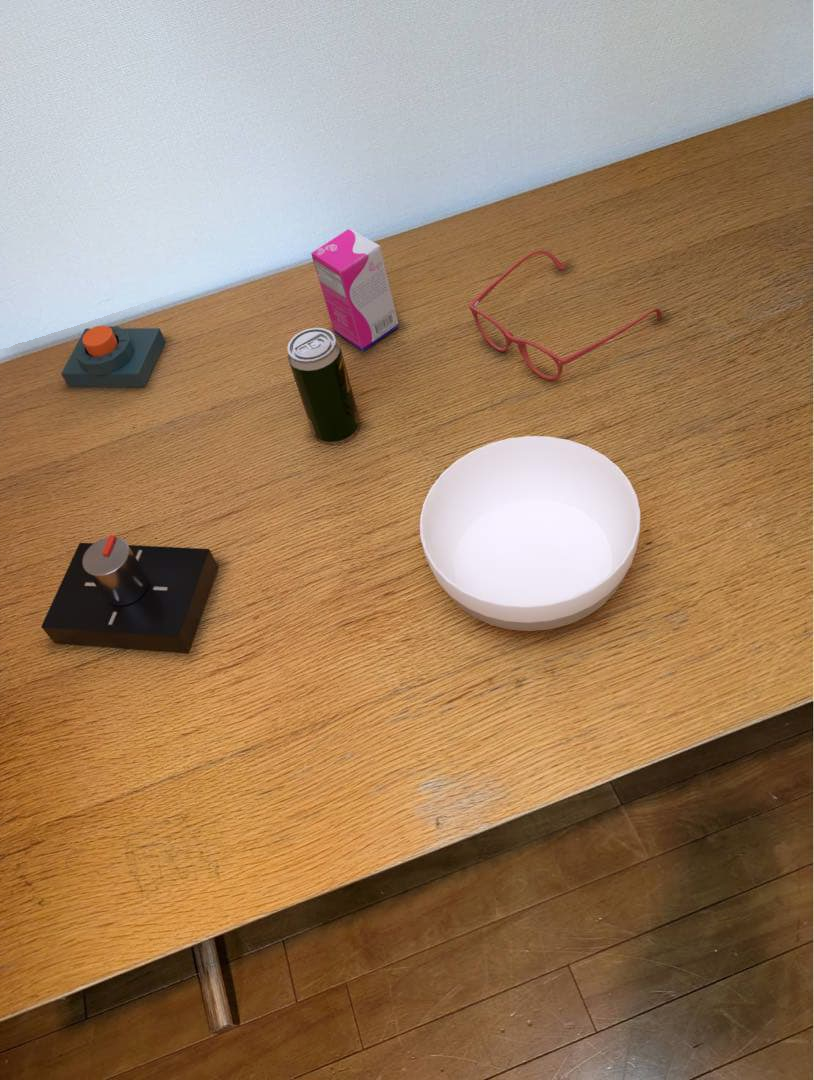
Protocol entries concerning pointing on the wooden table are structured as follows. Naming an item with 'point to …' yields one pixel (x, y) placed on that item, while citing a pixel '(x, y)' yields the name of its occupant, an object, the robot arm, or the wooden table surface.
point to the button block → (116, 360)
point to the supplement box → (356, 289)
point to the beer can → (324, 385)
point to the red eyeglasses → (523, 342)
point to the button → (99, 341)
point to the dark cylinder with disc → (115, 571)
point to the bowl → (530, 531)
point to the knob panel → (135, 603)
